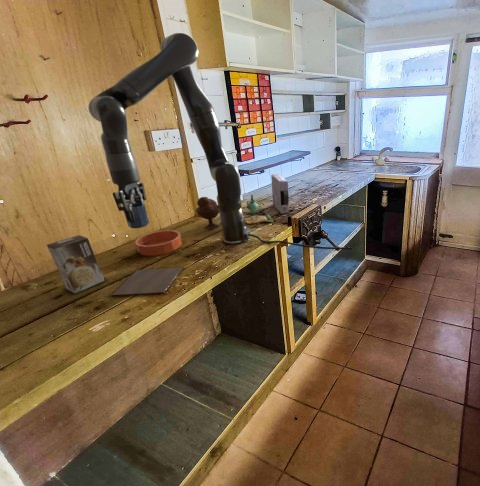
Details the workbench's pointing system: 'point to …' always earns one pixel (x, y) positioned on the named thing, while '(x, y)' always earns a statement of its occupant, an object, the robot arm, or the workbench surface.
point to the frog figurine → (255, 219)
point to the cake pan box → (280, 193)
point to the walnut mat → (148, 282)
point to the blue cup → (138, 216)
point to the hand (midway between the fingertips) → (137, 217)
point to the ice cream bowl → (207, 210)
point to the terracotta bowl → (158, 242)
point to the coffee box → (76, 263)
